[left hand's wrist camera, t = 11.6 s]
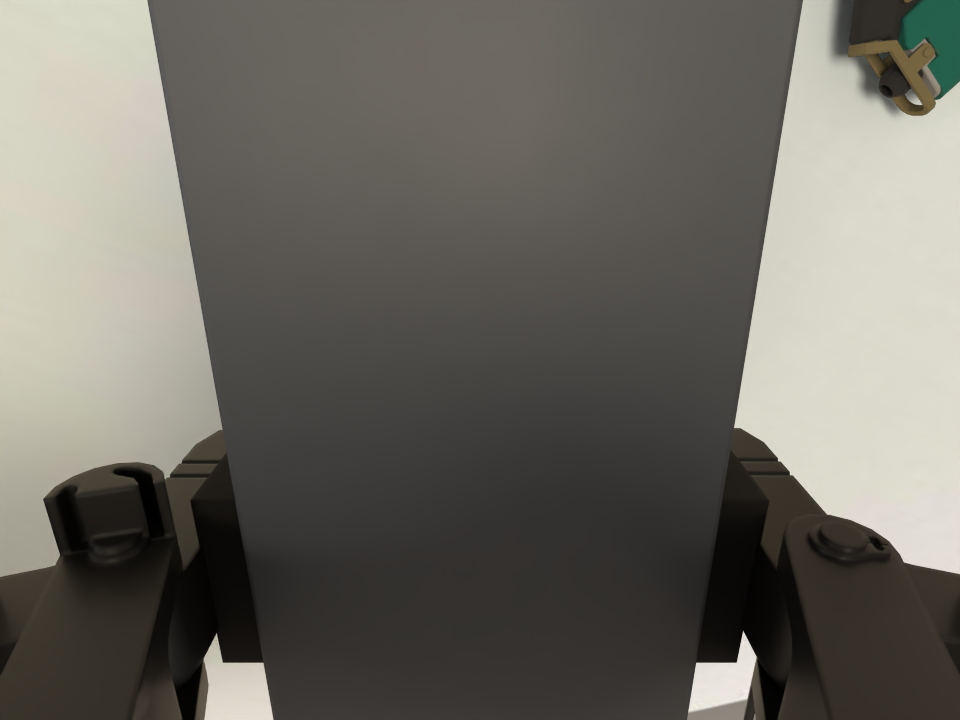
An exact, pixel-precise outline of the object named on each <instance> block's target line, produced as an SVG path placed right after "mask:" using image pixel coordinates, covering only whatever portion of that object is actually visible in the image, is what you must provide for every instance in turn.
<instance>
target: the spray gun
mask: <svg viewBox="0 0 960 720" xmlns="http://www.w3.org/2000/svg"><path fill="white" fill-rule="evenodd" d="M879 39H881V40H882V41H878V40H879ZM849 44H850V46H849V48H848V57H857V56H865V57H866V59H867V60H868V62H869V63H870V65H871V66H872V68H873V70H874V71H875V73H876V74H877V76H878V77H879V79H880V82H879V90H880V91H881V93H882V94H883V95H885V96H887V97H890V98H892V99H893V100H894V102H895V103H896V105H897V106H898V107H899V108H900V109H901V111H903V112H905V113H906V114H908V115H913V116H923V115H926V114H927V113H929V112H930V111H931V110H932V109H933V108H934V107H935V104H936V103H935V100H938V99H940V98H941V97H943V96H944V95H945V94H946V93H947V92H948V91H949V90H951V89H952V88H953V87H954V86H955V85H956V84H957V83H958V82H960V0H854V7H853V15H852V23H851V30H850V38H849ZM878 53H890V54H889V55H888V56H887V57H886V58H885V59H884V60H883V61H882V60H881V58H880V57H879V55H878ZM910 88H911V89H912V90H913V92H914V93H916V95H917V97H918V98H919V100H920V101H921V103H922V105H915V104H913V103H911V102H910V101H909V100H908V99H907V98H906V97H905V95H904V94H905V93H906V92H907V91H908V90H909V89H910Z"/></svg>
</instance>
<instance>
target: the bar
mask: <svg viewBox="0 0 960 720" xmlns="http://www.w3.org/2000/svg"><path fill="white" fill-rule="evenodd" d="M802 2H803V0H148V6H149V12H150V17H151V23H152V29H153V35H154V40H155V46H156V52H157V57H158V63H159V69H160V74H161V80H162V86H163V92H164V97H165V103H166V109H167V114H168V120H169V126H170V132H171V137H172V143H173V149H174V154H175V160H176V166H177V171H178V177H179V183H180V189H181V194H182V200H183V206H184V211H185V217H186V223H187V228H188V234H189V240H190V246H191V251H192V257H193V263H194V268H195V274H196V280H197V286H198V291H199V297H200V303H201V308H202V314H203V320H204V325H205V331H206V337H207V343H208V348H209V354H210V360H211V365H212V371H213V377H214V382H215V388H216V394H217V400H218V405H219V411H220V417H221V422H222V428H223V434H224V440H225V445H226V451H227V457H228V462H229V468H230V474H231V479H232V485H233V491H234V497H235V502H236V508H237V514H238V519H239V525H240V531H241V537H242V542H243V548H244V554H245V559H246V565H247V571H248V576H249V582H250V588H251V594H252V599H253V605H254V611H255V616H256V622H257V628H258V633H259V639H260V645H261V651H262V656H263V662H264V668H265V673H266V679H267V685H268V691H269V696H270V702H271V708H272V713H273V719H274V720H687V716H688V710H689V703H690V697H691V691H692V685H693V678H694V672H695V666H696V660H697V654H698V647H699V641H700V635H701V629H702V623H703V616H704V610H705V604H706V598H707V592H708V585H709V579H710V573H711V567H712V561H713V554H714V548H715V542H716V536H717V530H718V523H719V517H720V511H721V505H722V499H723V492H724V486H725V480H726V474H727V467H728V461H729V455H730V449H731V443H732V436H733V430H734V424H735V418H736V412H737V405H738V399H739V393H740V387H741V381H742V374H743V368H744V362H745V356H746V350H747V343H748V337H749V331H750V325H751V319H752V312H753V306H754V300H755V294H756V288H757V281H758V275H759V269H760V263H761V256H762V250H763V244H764V238H765V232H766V225H767V219H768V213H769V207H770V201H771V194H772V188H773V182H774V176H775V170H776V163H777V157H778V151H779V145H780V139H781V132H782V126H783V120H784V114H785V108H786V101H787V95H788V89H789V83H790V77H791V70H792V64H793V58H794V52H795V45H796V39H797V33H798V27H799V21H800V14H801V8H802Z"/></svg>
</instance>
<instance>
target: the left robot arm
mask: <svg viewBox="0 0 960 720" xmlns="http://www.w3.org/2000/svg"><path fill="white" fill-rule="evenodd" d="M43 500H44V503H45V507H46V510H47V513H48V516H49V520H50V523H51V526H52V530H53V533H54V536H55V539H56V543H57V546H58V549H59V553H60V557H59V559H58V561H57V563H56V565H55V566H52V567H48V568H43V569H38V570H33V571H28V572H23V573H18V574H13V575H8V576H3V577H0V720H204V717H205V709H206V701H207V693H208V679H207V672H206V668H205V663H204V657H205V655H206V653H207V651H208V649H209V647H210V645H211V643H212V641H213V639H214V637H215V635H216V633H217V636H218V641H219V646H220V651H221V656H222V661H223V663H264V662H263V656H262V651H261V645H260V639H259V633H258V628H257V622H256V616H255V611H254V605H253V599H252V594H251V588H250V582H249V576H248V571H247V565H246V559H245V554H244V548H243V542H242V537H241V531H240V525H239V519H238V514H237V508H236V502H235V497H234V491H233V485H232V479H231V474H230V468H229V462H228V457H227V451H226V445H225V440H224V434H223V430H219V431H218V432H216V433H214V434H213V435H211V436H209V437H208V438H206V439H204V440H203V441H201V442H199V443H198V444H196V445H195V446H194V447H193V449H192V450H191V451H190V452H189V453H188V454H187V455H186V457H185V458H184V459H183V460H182V464H179V465H178V466H177V467H176V468H175V469H174V470H173V472H172V473H171V474H170V478H167V479H166V480H165V479H164V474H163V472H162V471H161V470H160V469H158V468H157V467H155V466H154V465H149V464H144V463H139V462H135V463H117V464H112V465H108V466H103V467H98V468H94V469H92V470H89V471H86V472H84V473H81V474H78V475H76V476H73V477H71V478H70V479H68V480H66V481H65V482H63V483H61V484H60V485H58V486H56V487H55V488H54V489H53V490H52V491H51V492H50V493H49V494H48V495H47V496H46V497H45V498H44V499H43ZM743 631H744V633H745V635H746V637H747V639H748V641H749V643H750V645H751V647H752V648H753V650H754V652H755V654H756V656H757V658H756V663H755V668H754V672H753V677H752V681H751V686H750V691H749V695H748V700H747V704H746V709H745V714H744V720H753V718H754V714H755V716H756V720H960V574H956V573H951V572H946V571H941V570H936V569H931V568H926V567H920V566H915V565H911V564H907V563H904V562H903V560H902V558H901V556H900V554H899V553H898V552H897V551H896V549H895V548H894V547H893V546H892V544H891V543H890V542H889V541H888V540H886V539H885V538H883V537H882V536H881V535H879V534H878V533H876V532H875V531H873V530H872V529H870V528H867V527H865V526H863V525H860V524H858V523H856V522H854V521H851V520H848V519H844V518H840V517H836V516H832V515H827V514H826V513H825V512H824V511H823V510H822V508H821V507H820V506H819V505H818V504H817V503H816V502H815V500H814V499H813V498H812V497H811V496H810V495H809V493H808V492H807V491H806V490H805V489H804V488H803V487H802V485H801V484H800V483H799V482H798V481H797V480H796V479H795V477H794V476H793V475H790V472H789V471H788V469H787V468H786V467H785V466H784V465H783V464H782V463H781V462H778V458H777V457H776V456H775V455H774V453H773V452H772V451H771V450H770V449H769V448H768V447H767V445H766V444H765V443H764V442H763V441H761V440H759V439H757V438H756V437H754V436H752V435H751V434H749V433H747V432H746V431H744V430H742V429H741V428H734V430H733V436H732V443H731V449H730V455H729V461H728V467H727V474H726V480H725V486H724V492H723V499H722V505H721V511H720V517H719V523H718V530H717V536H716V542H715V548H714V554H713V561H712V567H711V573H710V579H709V585H708V592H707V598H706V604H705V610H704V616H703V623H702V629H701V635H700V641H699V647H698V654H697V660H696V663H737V658H738V653H739V648H740V643H741V638H742V634H743Z"/></svg>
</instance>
